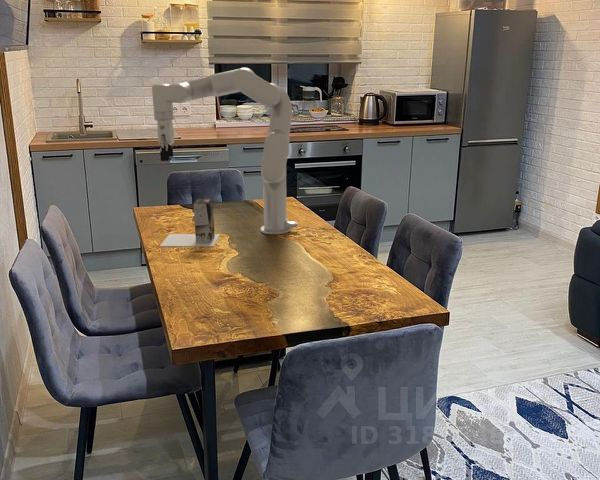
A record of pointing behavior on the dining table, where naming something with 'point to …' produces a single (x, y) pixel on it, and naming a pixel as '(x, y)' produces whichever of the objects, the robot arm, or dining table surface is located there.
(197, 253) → the dining table surface
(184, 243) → the mat
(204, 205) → the coffee box
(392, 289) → the dining table surface
